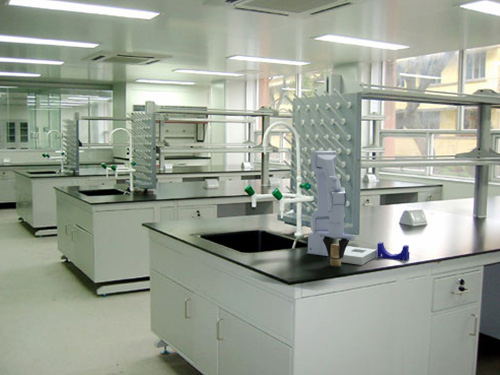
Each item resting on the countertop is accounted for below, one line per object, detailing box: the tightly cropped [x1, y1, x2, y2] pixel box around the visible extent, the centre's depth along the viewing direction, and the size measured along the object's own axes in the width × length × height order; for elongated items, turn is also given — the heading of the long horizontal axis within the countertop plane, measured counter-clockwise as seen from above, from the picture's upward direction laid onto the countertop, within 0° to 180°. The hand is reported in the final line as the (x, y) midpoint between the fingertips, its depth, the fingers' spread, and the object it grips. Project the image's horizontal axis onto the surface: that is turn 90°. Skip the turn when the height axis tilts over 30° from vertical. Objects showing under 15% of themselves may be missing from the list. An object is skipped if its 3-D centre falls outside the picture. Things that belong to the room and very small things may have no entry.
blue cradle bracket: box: [376, 241, 410, 262], centre depth 207 cm, size 12×4×6 cm, turn 57°
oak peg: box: [329, 243, 342, 267], centre depth 194 cm, size 4×4×8 cm
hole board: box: [341, 245, 378, 266], centre depth 206 cm, size 13×17×3 cm
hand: (335, 256), depth 195 cm, fingers closed on oak peg, 4 cm apart
